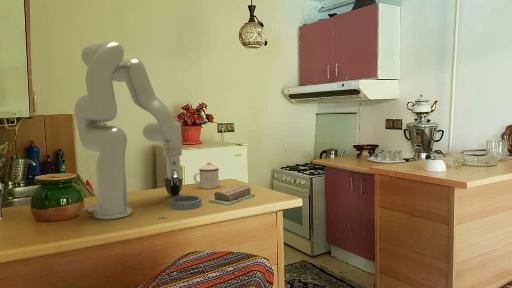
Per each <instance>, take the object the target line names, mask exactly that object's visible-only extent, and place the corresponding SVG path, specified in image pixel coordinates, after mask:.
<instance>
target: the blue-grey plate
mask: <svg viewBox="0 0 512 288" xmlns="http://www.w3.org/2000/svg"><path fill="white" fill-rule="evenodd" d="M202 205H203V203H202V197H201V196H199V195H190V194H189V195H178V197H173V198H171V197H170V198H169V208H170V209H173V210H181V211H182V210H185V211H186V210H193V209H197V208H200V207H202Z"/></svg>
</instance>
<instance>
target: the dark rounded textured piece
mask: <svg viewBox="0 0 512 288" xmlns="http://www.w3.org/2000/svg"><path fill="white" fill-rule="evenodd" d="M178 185H179V194H180V193H181V191H182V188H183V178H181V180H179V179H178ZM164 187H165V191H166V192H167V194H169V198H170V199H171V198H173V197H178V196H179V195H175V196H172V195H171V180H169V178H168V177H167V178H164Z"/></svg>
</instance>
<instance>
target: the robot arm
mask: <svg viewBox="0 0 512 288" xmlns="http://www.w3.org/2000/svg"><path fill="white" fill-rule="evenodd" d="M80 57H81V60H82V62H83V63H84V65H85V66H86V67H87V69H86V72H85V86H86V87H85V88H86V94H84V95H83V96H80V97H79V98H78V99H77V100H76V102H75V105H74V109H73V110H74V117H75V124H76V127H77V133H78V136H79V140H80V143H81V145H82V146H83V148H84V149H85V150H88V151H89V152H94V153H95V152H96V153H98V156H97V159H96V163H95V164H96V165H95V166H96V170H95V171H96V183H97V185H96V186H97V203H94V204H86V205H84V211H85V212H89V213H90V212H94V213H93V214H94V216H93V217H94V218H96V219H99V220H116V219H121V218H126V217H128V216H130V215H132V213H133V209H132V208H130V207H128V198H127V197H128V195H127V194H128V193H127V176H126V175H127V174H126V152H127V151H126V150H127V143H128V137H127V134H126V133H125V131H124V130H123V129H122V128H121V127H119V126H116V125H110V124H109V125H103V123H107V122H111V121H113V120H115V119H116V118H117V115H118V106H117V99H116V95H115V89H114V82H116V83H117V82H118V83H122V82H123V83H125V85H126V88H127V89H128V92H129V95H130V97H131V99H132V102H133V103H134V104H135V105H136V106H137V107H139V108H140V109H142V110H145V112H148V113H149V114H150V115H151V116H152V117H153V118H154V119H155V120H156V122H148V123H147V124H146V125H144V127H143V128H142V135H143V138H144V139H146V140H147V141H150V142H158V143H159V142H161V143H162V150H163V151H162V155H163V157H165V160H166V172H167V173H166V174H167V178H168V179H169V180H171V195H172V196H175V195H178V196H180V193H179V185H178V179H179V180H181V179H182V171H181V158H180V157H181V156H183V152H182V151H183V149H182V125H181V123H180V122H177V121H175V117H174V115H173V114H172V112H171V110H170V109H169V108H168V107H167V105H166V104H165V103H164V102H163V101H162V100H161V99H160V98H159V97H158V96H157V95H156V93H155V91H154V88H153V86H152V83H151V79H150V78H149V74H148V72H147V69H146V67H145V65H144V63H143V61H142V60H141V59H139V58H135V57H128V58H124V57H125V49H124V47H123V45H122V44H121V43H119V42H117V41H112V40H111V41H102V42H97V43H91V44H88V45H86V46H85V47H84V48H83V49H82V51H81V55H80Z"/></svg>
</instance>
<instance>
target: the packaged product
mask: <svg viewBox="0 0 512 288" xmlns="http://www.w3.org/2000/svg"><path fill="white" fill-rule="evenodd" d="M251 191H252V190H251V187H250V186H249V185H243V184H237V185H235V186H231V187H227V188H223V189H220V190H216V191H214V197H211V198H208V203H211V204H217V205H224V206H230V205H233V204H236V203H239V202H242V201H245V200H247V198H248V199H249V198H250V199H251V198H253V197H255V196H256V194H253V193H251ZM244 199H245V200H244ZM241 200H242V201H241Z"/></svg>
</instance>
